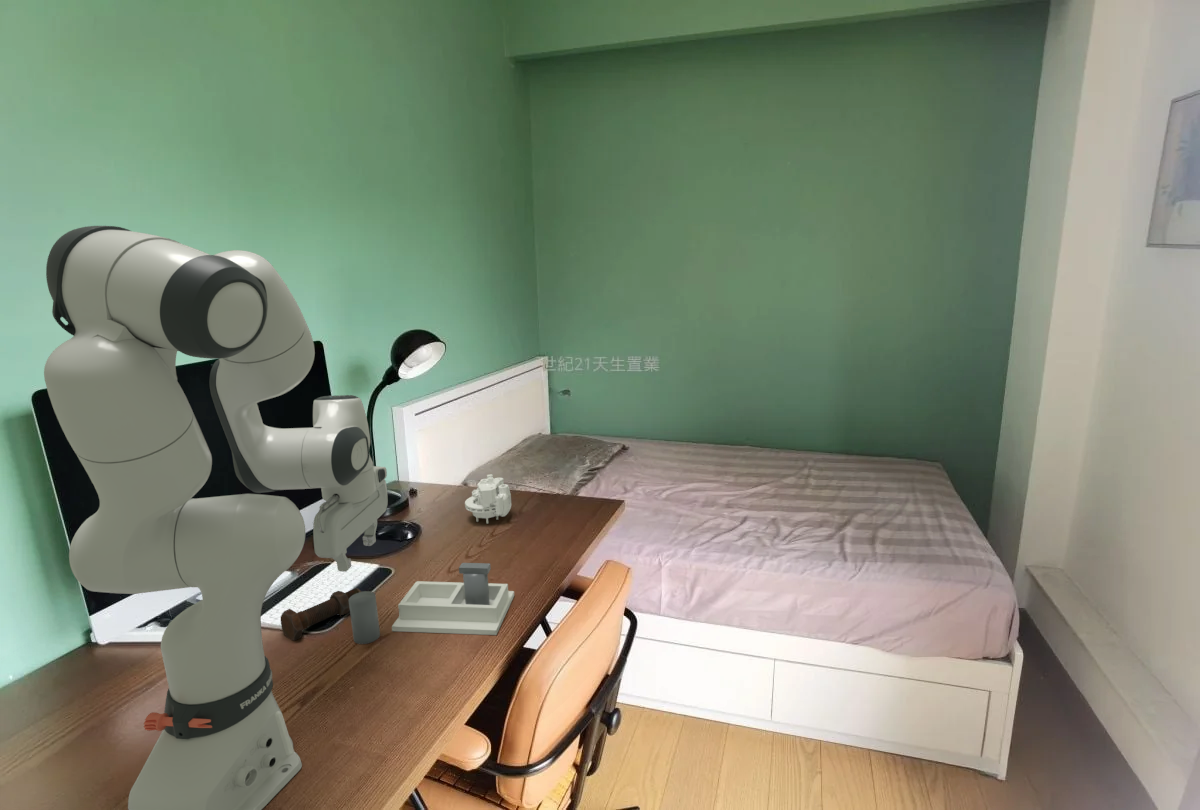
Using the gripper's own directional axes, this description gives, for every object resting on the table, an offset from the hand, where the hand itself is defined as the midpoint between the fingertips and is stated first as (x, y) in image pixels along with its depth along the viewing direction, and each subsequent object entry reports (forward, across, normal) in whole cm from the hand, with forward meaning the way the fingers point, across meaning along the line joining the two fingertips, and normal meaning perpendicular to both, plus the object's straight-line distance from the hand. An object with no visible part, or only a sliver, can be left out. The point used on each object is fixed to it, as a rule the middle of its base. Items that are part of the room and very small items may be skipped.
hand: (357, 556), depth 114 cm
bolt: (+17, +4, +10) cm, 20 cm away
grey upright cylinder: (+16, -1, 0) cm, 16 cm away
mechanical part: (+17, +53, -8) cm, 57 cm away
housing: (+16, +8, -14) cm, 23 cm away
